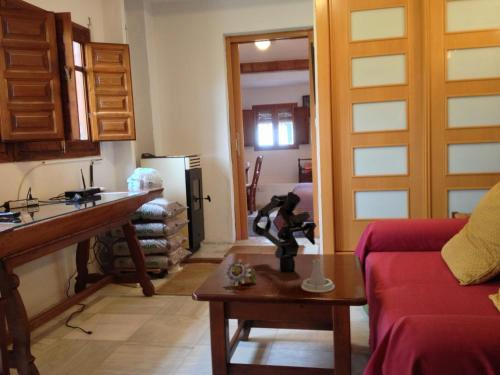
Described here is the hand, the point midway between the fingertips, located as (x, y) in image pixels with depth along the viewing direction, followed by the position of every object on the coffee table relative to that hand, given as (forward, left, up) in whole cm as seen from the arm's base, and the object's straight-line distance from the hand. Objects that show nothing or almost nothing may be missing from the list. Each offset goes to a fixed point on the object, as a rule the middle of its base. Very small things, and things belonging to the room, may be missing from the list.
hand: (306, 245), depth 183 cm
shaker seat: (+1, -14, -14) cm, 19 cm away
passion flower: (-29, -3, -14) cm, 32 cm away
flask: (+1, -14, -13) cm, 19 cm away
